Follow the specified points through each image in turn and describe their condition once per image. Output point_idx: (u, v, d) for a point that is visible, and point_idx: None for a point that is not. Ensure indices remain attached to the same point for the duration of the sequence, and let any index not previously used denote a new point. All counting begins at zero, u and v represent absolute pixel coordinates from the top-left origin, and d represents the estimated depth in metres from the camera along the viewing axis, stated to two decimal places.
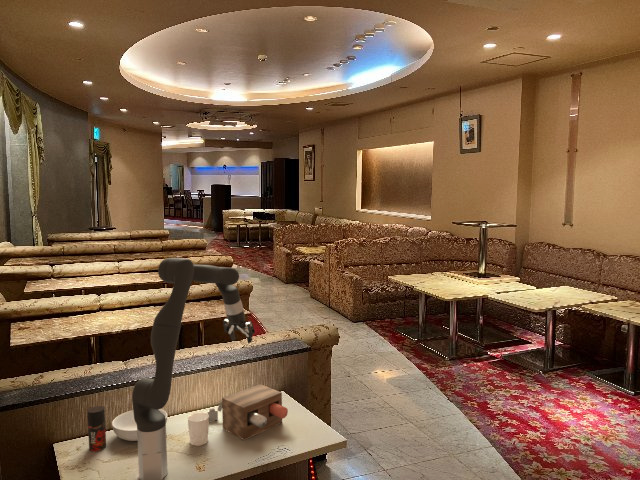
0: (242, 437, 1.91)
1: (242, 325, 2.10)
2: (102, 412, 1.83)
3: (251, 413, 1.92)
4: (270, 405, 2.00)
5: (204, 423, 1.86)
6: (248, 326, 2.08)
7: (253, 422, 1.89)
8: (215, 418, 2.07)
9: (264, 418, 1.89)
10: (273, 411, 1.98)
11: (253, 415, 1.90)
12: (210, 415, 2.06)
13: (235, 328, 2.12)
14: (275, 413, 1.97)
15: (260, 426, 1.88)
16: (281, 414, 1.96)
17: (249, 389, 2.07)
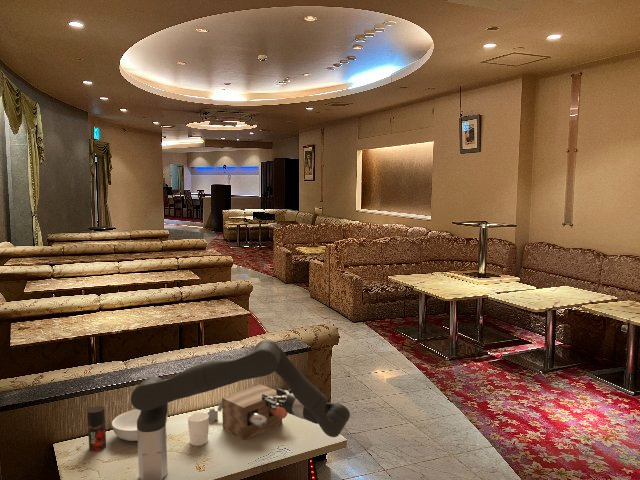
0: (242, 437, 1.91)
1: (280, 400, 1.76)
2: (102, 412, 1.83)
3: (251, 413, 1.92)
4: None
5: (204, 423, 1.86)
6: (273, 402, 1.74)
7: (253, 422, 1.89)
8: (215, 418, 2.07)
9: (264, 418, 1.89)
10: (273, 411, 1.98)
11: (253, 415, 1.90)
12: (210, 415, 2.06)
13: (284, 395, 1.80)
14: (275, 413, 1.97)
15: (260, 426, 1.88)
16: (281, 414, 1.96)
17: (249, 389, 2.07)
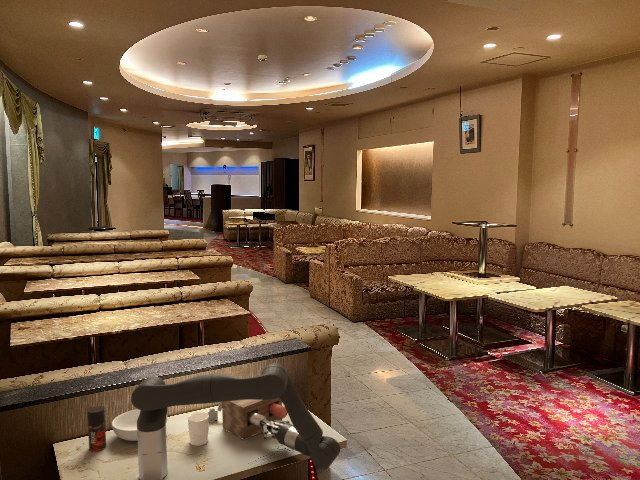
0: (242, 437, 1.91)
1: (271, 429, 1.80)
2: (102, 412, 1.83)
3: (251, 413, 1.92)
4: (270, 405, 2.00)
5: (204, 423, 1.86)
6: (265, 431, 1.79)
7: (253, 422, 1.89)
8: (215, 418, 2.07)
9: (263, 417, 1.89)
10: (273, 411, 1.98)
11: (252, 415, 1.90)
12: (210, 415, 2.06)
13: None
14: (275, 413, 1.97)
15: (260, 426, 1.88)
16: (281, 414, 1.96)
17: None
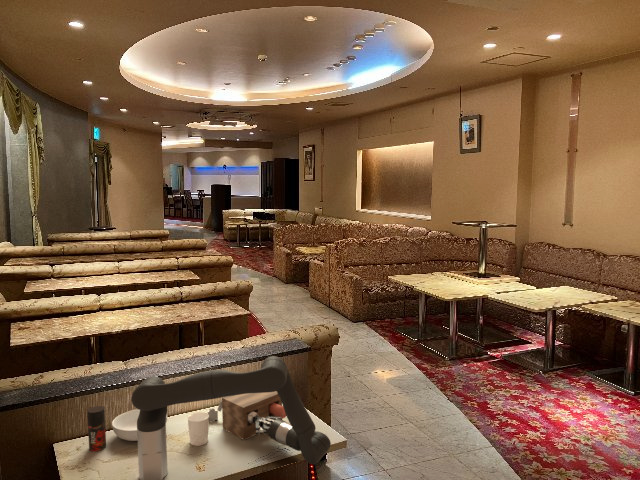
0: (242, 437, 1.91)
1: (263, 425, 1.84)
2: (102, 412, 1.83)
3: None
4: (270, 405, 2.00)
5: (204, 423, 1.86)
6: (257, 427, 1.82)
7: None
8: (215, 418, 2.07)
9: (256, 414, 1.93)
10: (273, 411, 1.98)
11: None
12: (210, 415, 2.06)
13: None
14: (275, 413, 1.97)
15: (252, 422, 1.91)
16: (281, 414, 1.96)
17: None
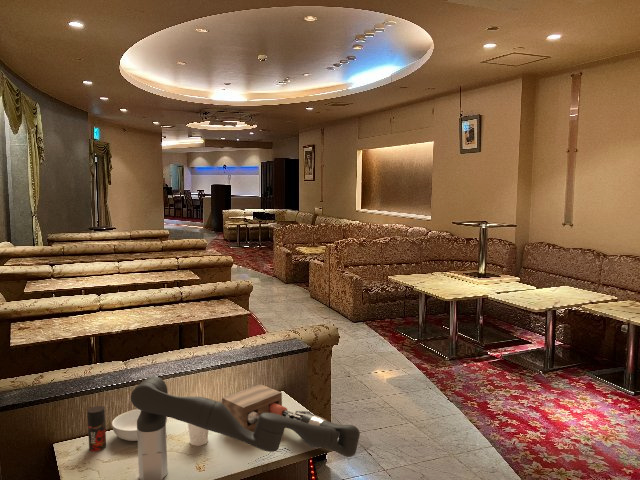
0: None
1: None
2: (102, 412, 1.83)
3: None
4: (270, 405, 2.00)
5: None
6: None
7: None
8: None
9: (256, 414, 1.93)
10: (273, 411, 1.98)
11: None
12: None
13: None
14: (275, 413, 1.97)
15: (252, 422, 1.91)
16: (281, 414, 1.96)
17: (249, 389, 2.07)
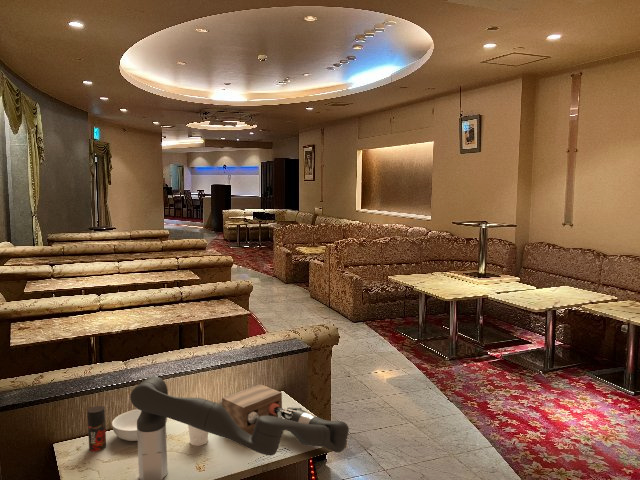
0: None
1: (285, 415, 1.92)
2: (102, 412, 1.83)
3: None
4: None
5: None
6: (279, 416, 1.90)
7: None
8: None
9: (256, 414, 1.93)
10: None
11: None
12: None
13: None
14: None
15: (252, 422, 1.91)
16: (273, 410, 1.99)
17: (249, 389, 2.07)
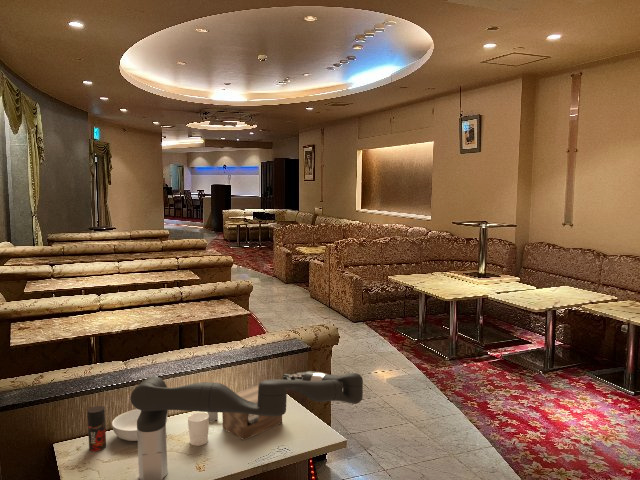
0: (242, 437, 1.91)
1: (295, 379, 1.87)
2: (102, 412, 1.83)
3: None
4: None
5: (204, 422, 1.86)
6: None
7: None
8: (215, 418, 2.07)
9: None
10: None
11: None
12: (210, 415, 2.06)
13: None
14: None
15: (252, 422, 1.91)
16: None
17: (249, 389, 2.07)
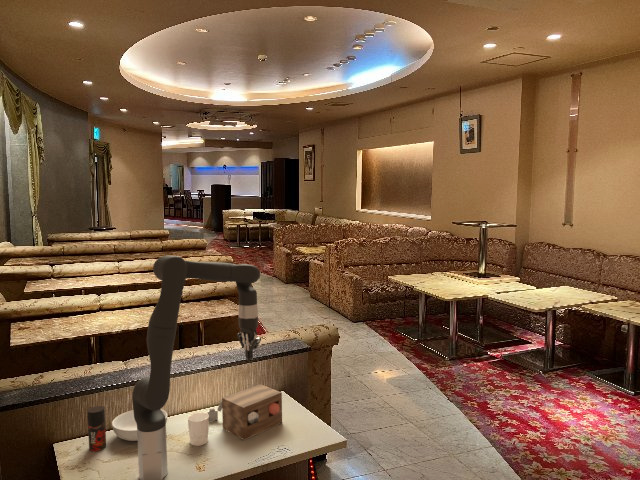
0: (242, 437, 1.91)
1: (251, 338, 1.88)
2: (102, 412, 1.83)
3: None
4: None
5: (204, 422, 1.86)
6: (255, 341, 1.86)
7: None
8: (215, 418, 2.07)
9: (256, 414, 1.93)
10: None
11: None
12: (210, 415, 2.06)
13: None
14: None
15: (252, 422, 1.91)
16: (273, 410, 1.99)
17: (249, 389, 2.07)
